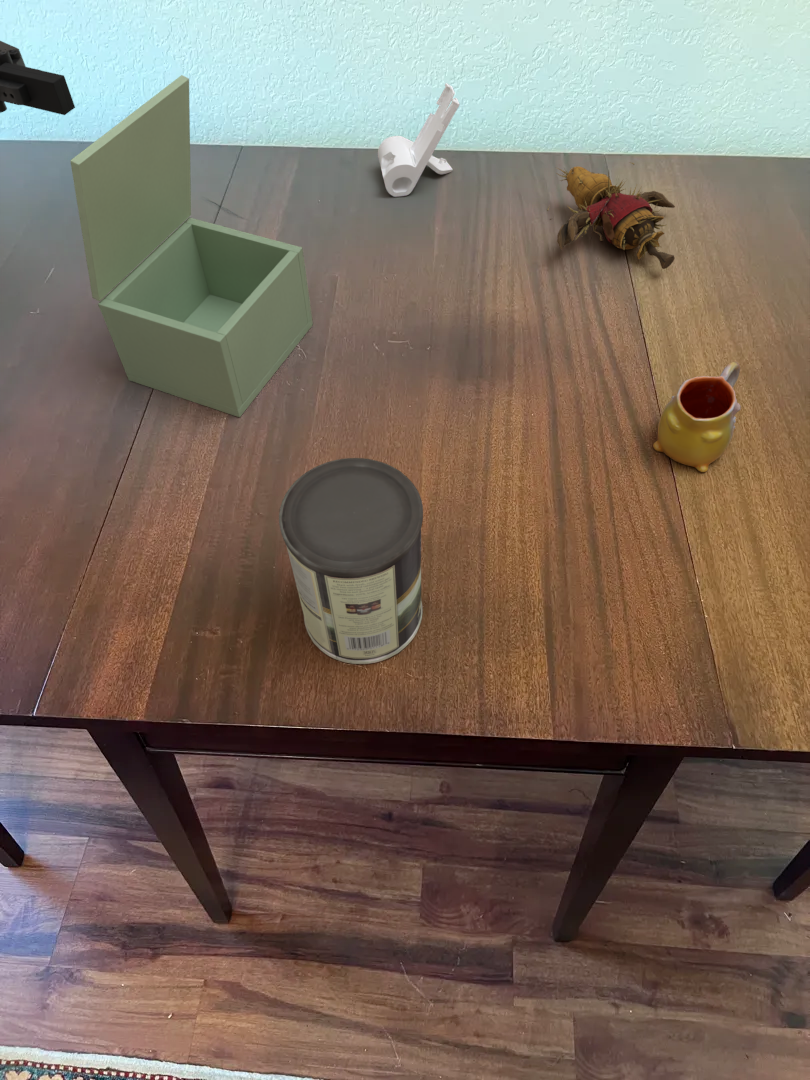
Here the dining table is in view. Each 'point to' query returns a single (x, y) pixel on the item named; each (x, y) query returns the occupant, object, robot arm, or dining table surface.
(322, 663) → the dining table surface
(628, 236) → the scarecrow
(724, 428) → the mug
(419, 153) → the plastic part
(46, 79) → the robot arm
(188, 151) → the lid
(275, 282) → the chest
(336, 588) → the coffee can
